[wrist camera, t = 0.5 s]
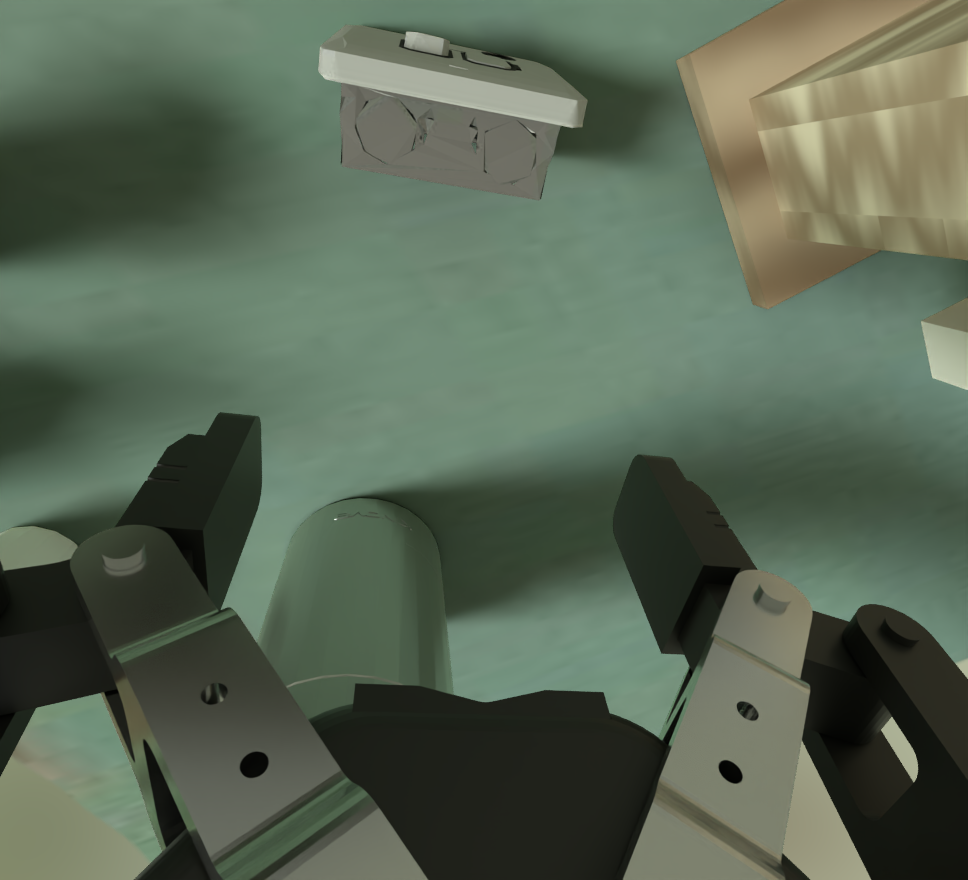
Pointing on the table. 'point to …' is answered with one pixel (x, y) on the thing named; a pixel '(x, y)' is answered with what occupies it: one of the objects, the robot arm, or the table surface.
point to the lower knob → (948, 344)
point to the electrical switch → (447, 110)
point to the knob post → (836, 135)
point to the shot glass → (33, 547)
